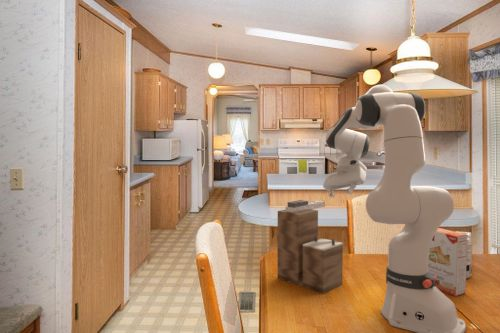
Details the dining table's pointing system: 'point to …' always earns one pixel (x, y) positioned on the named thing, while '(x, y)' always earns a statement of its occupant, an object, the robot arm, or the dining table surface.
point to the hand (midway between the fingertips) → (340, 194)
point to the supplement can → (468, 258)
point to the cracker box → (449, 261)
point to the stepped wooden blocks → (307, 253)
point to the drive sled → (303, 206)
